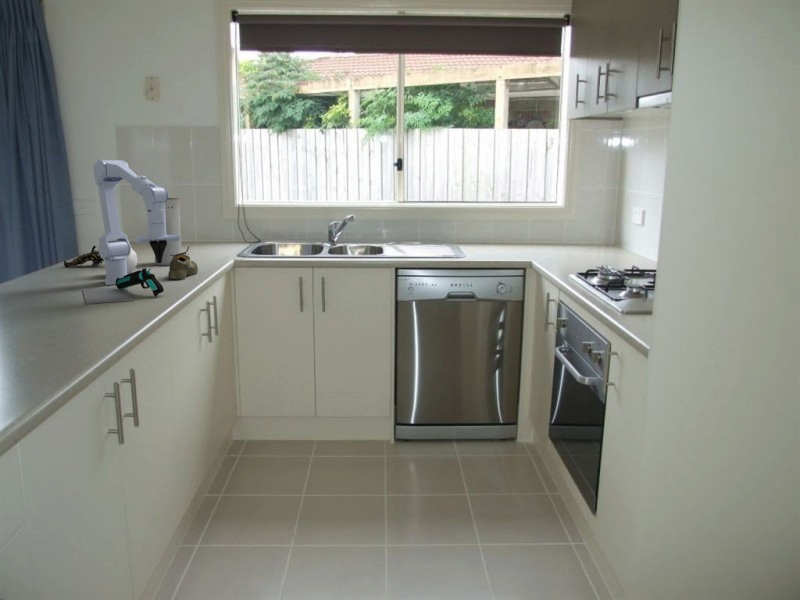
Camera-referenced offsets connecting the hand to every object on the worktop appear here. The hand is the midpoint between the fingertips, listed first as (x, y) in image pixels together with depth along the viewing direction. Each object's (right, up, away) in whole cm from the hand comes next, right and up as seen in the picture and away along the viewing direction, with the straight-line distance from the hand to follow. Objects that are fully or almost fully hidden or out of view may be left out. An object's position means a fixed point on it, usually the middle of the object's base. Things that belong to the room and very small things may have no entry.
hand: (159, 262), depth 230 cm
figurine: (-48, +1, +49) cm, 68 cm away
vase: (-18, +3, +59) cm, 62 cm away
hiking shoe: (-3, -4, +32) cm, 33 cm away
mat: (-15, -11, -6) cm, 20 cm away
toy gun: (-6, -10, -1) cm, 12 cm away
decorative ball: (-25, -4, +30) cm, 39 cm away
